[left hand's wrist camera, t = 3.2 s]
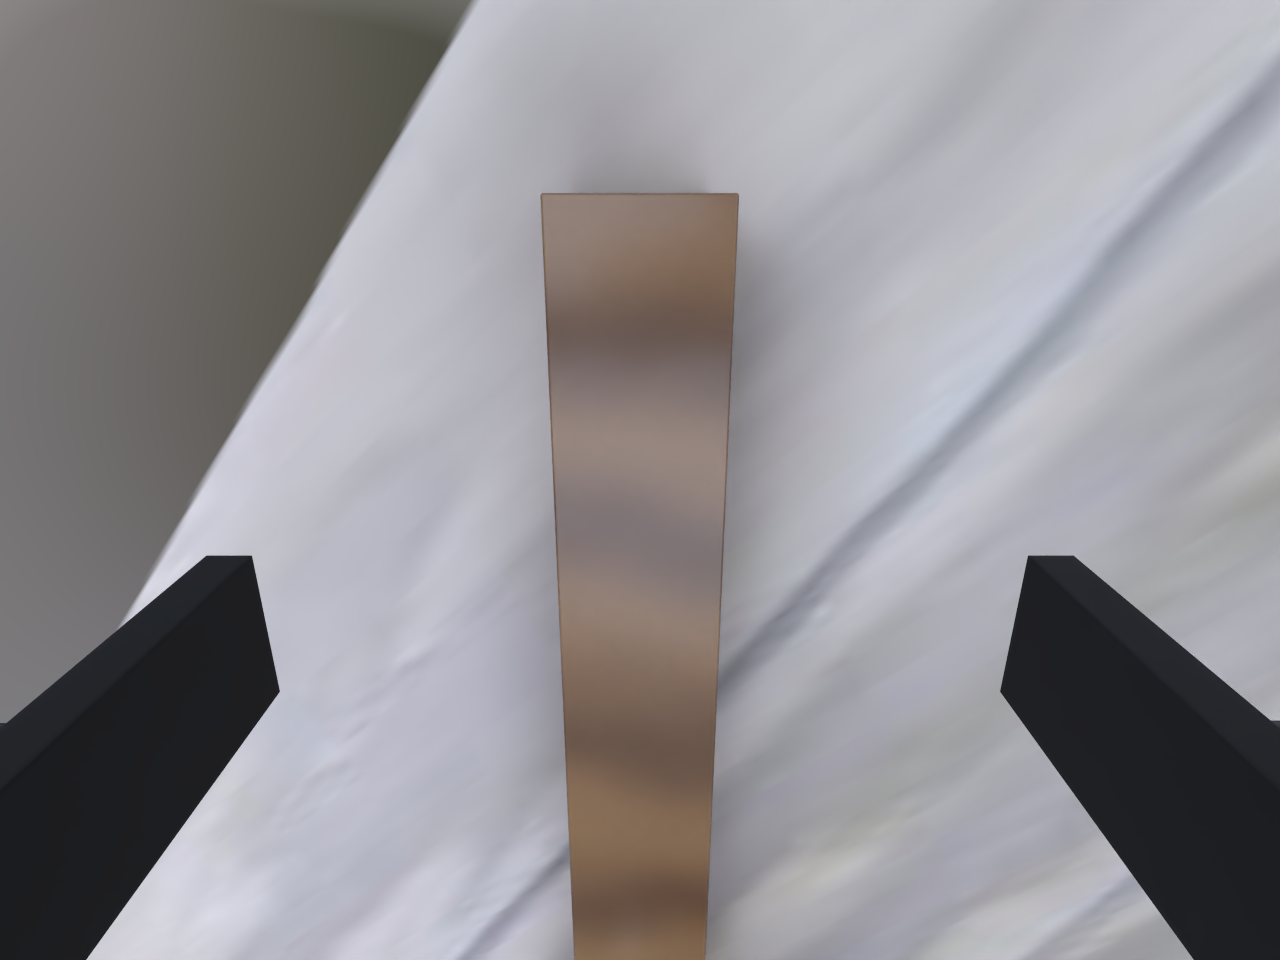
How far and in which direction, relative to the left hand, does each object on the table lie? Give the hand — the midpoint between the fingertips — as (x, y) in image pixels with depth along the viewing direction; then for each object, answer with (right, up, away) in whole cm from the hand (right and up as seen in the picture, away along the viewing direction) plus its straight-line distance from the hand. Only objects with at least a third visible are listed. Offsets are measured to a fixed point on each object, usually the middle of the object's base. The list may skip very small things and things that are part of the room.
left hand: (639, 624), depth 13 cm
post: (0, -15, +25) cm, 29 cm away
